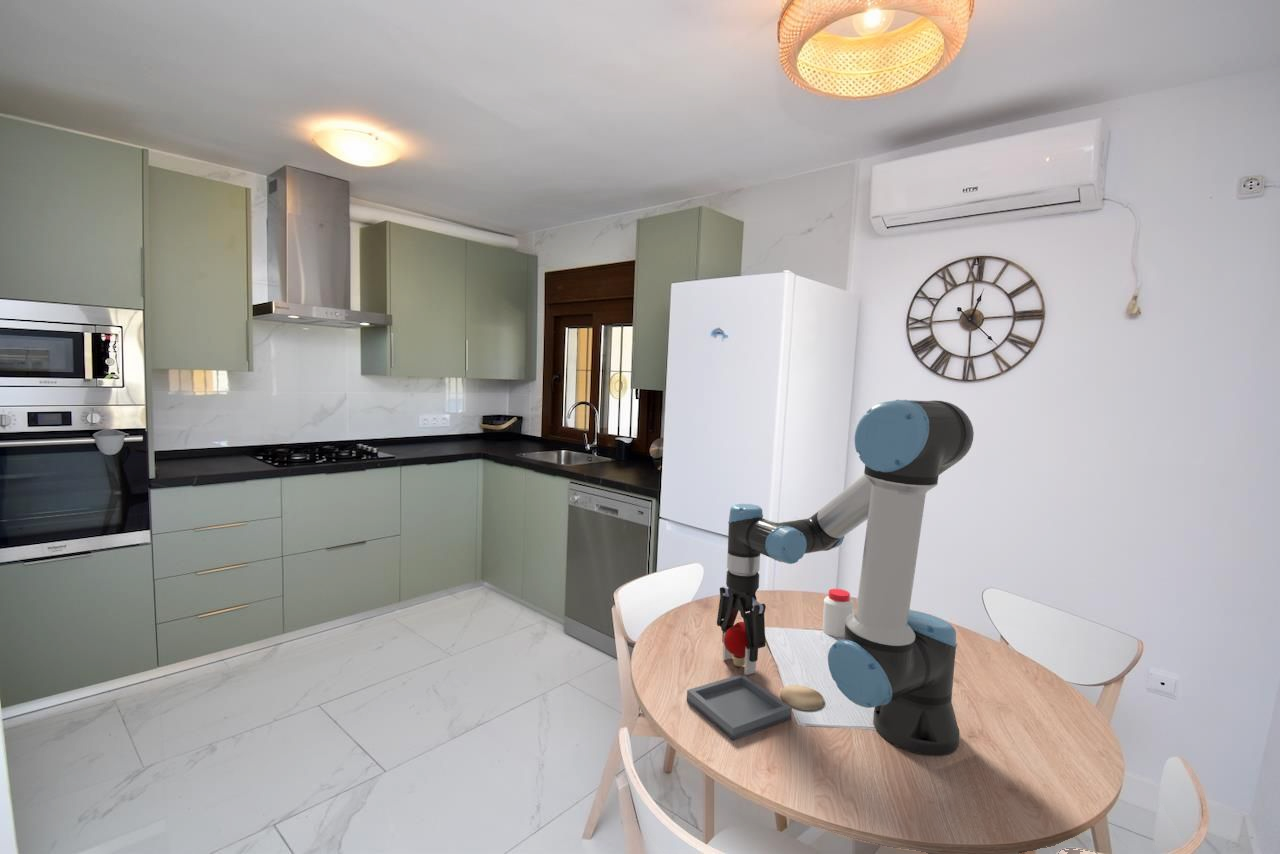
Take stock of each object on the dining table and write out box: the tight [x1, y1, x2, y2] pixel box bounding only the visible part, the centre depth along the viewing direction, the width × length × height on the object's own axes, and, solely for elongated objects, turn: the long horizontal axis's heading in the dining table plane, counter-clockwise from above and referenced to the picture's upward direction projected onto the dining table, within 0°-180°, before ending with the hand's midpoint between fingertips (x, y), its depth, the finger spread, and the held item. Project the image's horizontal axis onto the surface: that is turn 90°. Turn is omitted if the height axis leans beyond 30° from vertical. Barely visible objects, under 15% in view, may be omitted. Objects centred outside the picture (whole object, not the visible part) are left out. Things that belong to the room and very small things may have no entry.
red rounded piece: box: [724, 621, 754, 668], centre depth 137 cm, size 9×7×10 cm
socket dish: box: [686, 673, 793, 741], centre depth 119 cm, size 15×15×2 cm
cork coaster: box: [779, 684, 825, 711], centre depth 124 cm, size 9×9×1 cm
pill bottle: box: [821, 588, 855, 639], centre depth 158 cm, size 8×8×11 cm
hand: (738, 665), depth 137 cm, fingers closed on red rounded piece, 7 cm apart
